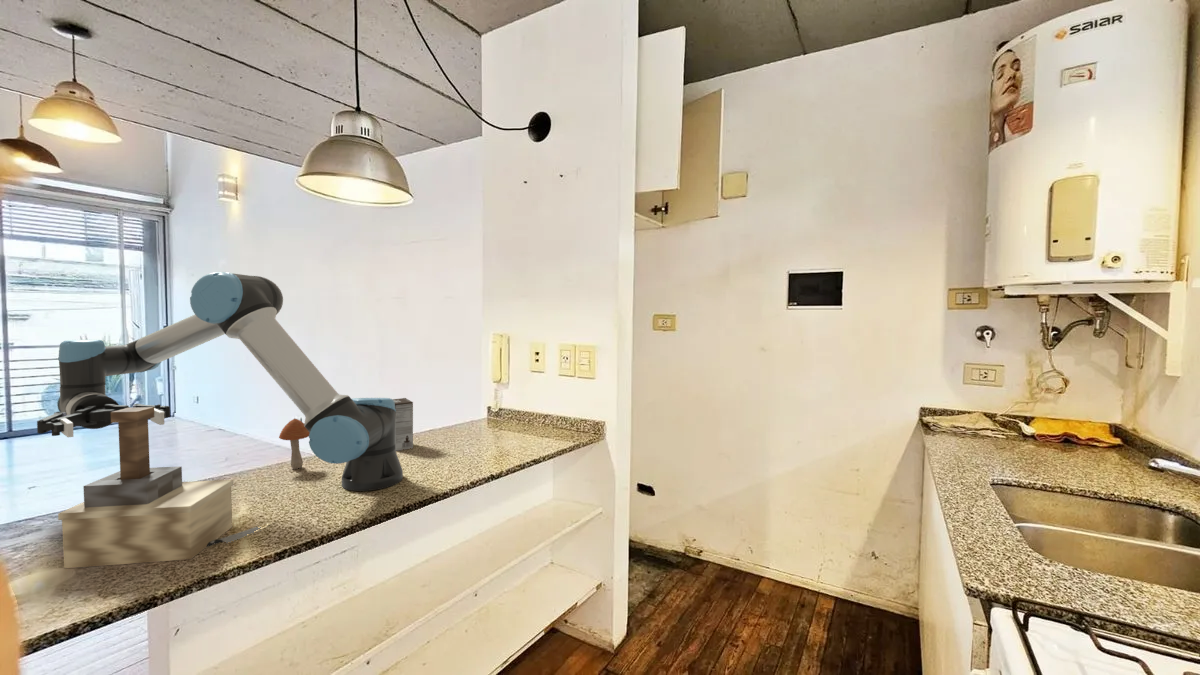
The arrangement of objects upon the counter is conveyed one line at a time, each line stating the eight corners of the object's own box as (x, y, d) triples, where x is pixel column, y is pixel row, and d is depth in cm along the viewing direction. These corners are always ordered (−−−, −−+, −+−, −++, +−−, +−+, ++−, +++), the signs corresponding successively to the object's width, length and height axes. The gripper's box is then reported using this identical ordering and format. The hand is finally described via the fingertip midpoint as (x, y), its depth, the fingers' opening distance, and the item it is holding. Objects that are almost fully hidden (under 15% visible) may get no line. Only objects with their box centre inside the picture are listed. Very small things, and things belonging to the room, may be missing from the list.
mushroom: (285, 475, 138) (283, 422, 138) (275, 468, 144) (274, 418, 143) (315, 468, 144) (314, 418, 144) (305, 462, 150) (304, 414, 149)
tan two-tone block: (234, 526, 106) (232, 461, 105) (191, 559, 91) (189, 485, 91) (123, 533, 102) (120, 465, 101) (60, 569, 87) (57, 491, 87)
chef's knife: (289, 523, 109) (282, 520, 110) (290, 518, 108) (282, 515, 110) (185, 561, 92) (177, 556, 93) (185, 555, 92) (177, 551, 93)
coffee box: (386, 445, 170) (386, 399, 169) (405, 442, 174) (405, 397, 173) (394, 451, 163) (394, 403, 162) (414, 448, 167) (413, 401, 166)
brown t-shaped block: (157, 491, 98) (154, 407, 97) (141, 499, 94) (137, 411, 93) (131, 492, 97) (128, 407, 96) (114, 500, 93) (110, 412, 92)
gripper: (164, 417, 123) (195, 430, 111) (9, 437, 102) (26, 456, 90) (163, 387, 122) (194, 397, 110) (7, 401, 102) (24, 415, 90)
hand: (118, 424), depth 100 cm, fingers open, 13 cm apart
